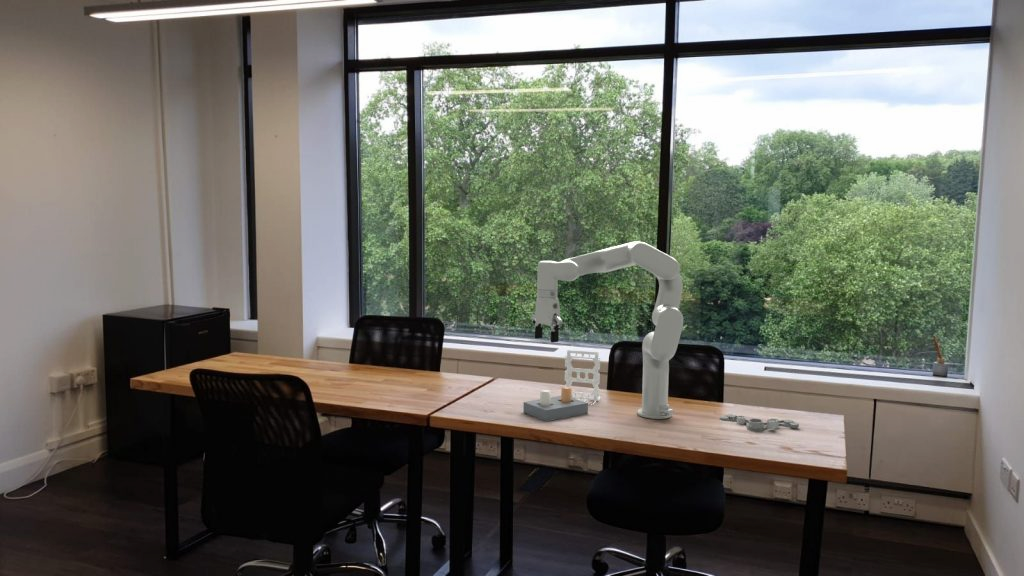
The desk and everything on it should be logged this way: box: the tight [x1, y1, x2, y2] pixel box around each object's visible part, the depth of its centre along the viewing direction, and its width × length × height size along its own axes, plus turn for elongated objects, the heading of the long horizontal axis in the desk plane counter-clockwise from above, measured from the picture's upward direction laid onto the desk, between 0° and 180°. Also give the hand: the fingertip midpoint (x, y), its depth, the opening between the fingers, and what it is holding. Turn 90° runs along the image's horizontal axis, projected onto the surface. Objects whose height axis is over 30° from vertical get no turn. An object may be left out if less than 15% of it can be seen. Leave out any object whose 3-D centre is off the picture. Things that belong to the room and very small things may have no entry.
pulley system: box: [719, 413, 800, 432], centre depth 256 cm, size 27×5×15 cm
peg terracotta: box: [560, 386, 573, 403], centre depth 273 cm, size 4×4×9 cm
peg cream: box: [539, 389, 552, 407], centre depth 267 cm, size 4×4×9 cm
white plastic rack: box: [564, 349, 602, 406], centre depth 289 cm, size 14×14×20 cm
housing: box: [522, 395, 589, 422], centre depth 270 cm, size 14×20×4 cm
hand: (546, 340), depth 265 cm, fingers open, 9 cm apart
